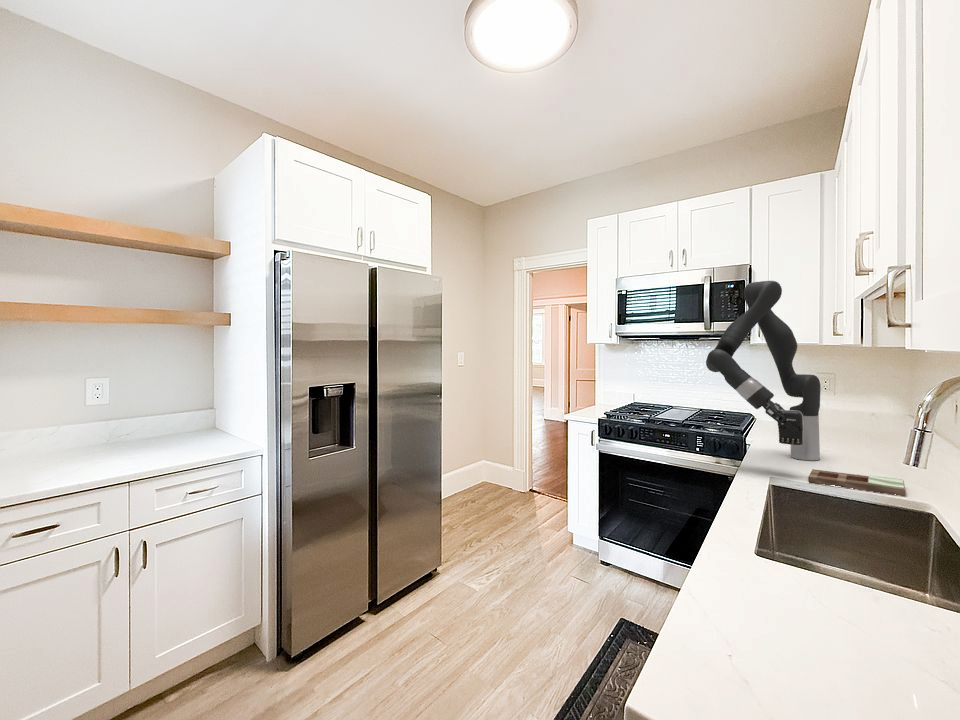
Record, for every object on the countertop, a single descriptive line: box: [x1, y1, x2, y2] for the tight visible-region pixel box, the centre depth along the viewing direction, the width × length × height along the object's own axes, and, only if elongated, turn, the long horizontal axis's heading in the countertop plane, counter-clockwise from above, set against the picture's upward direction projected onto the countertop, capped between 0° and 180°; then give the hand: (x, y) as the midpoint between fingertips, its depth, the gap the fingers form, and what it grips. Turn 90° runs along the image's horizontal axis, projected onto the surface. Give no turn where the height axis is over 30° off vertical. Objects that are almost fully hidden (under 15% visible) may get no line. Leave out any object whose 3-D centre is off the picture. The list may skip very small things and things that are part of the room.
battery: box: [777, 409, 803, 446], centre depth 144 cm, size 7×4×11 cm, turn 47°
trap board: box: [807, 468, 906, 497], centre depth 133 cm, size 12×22×2 cm, turn 47°
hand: (797, 429), depth 143 cm, fingers closed on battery, 3 cm apart
